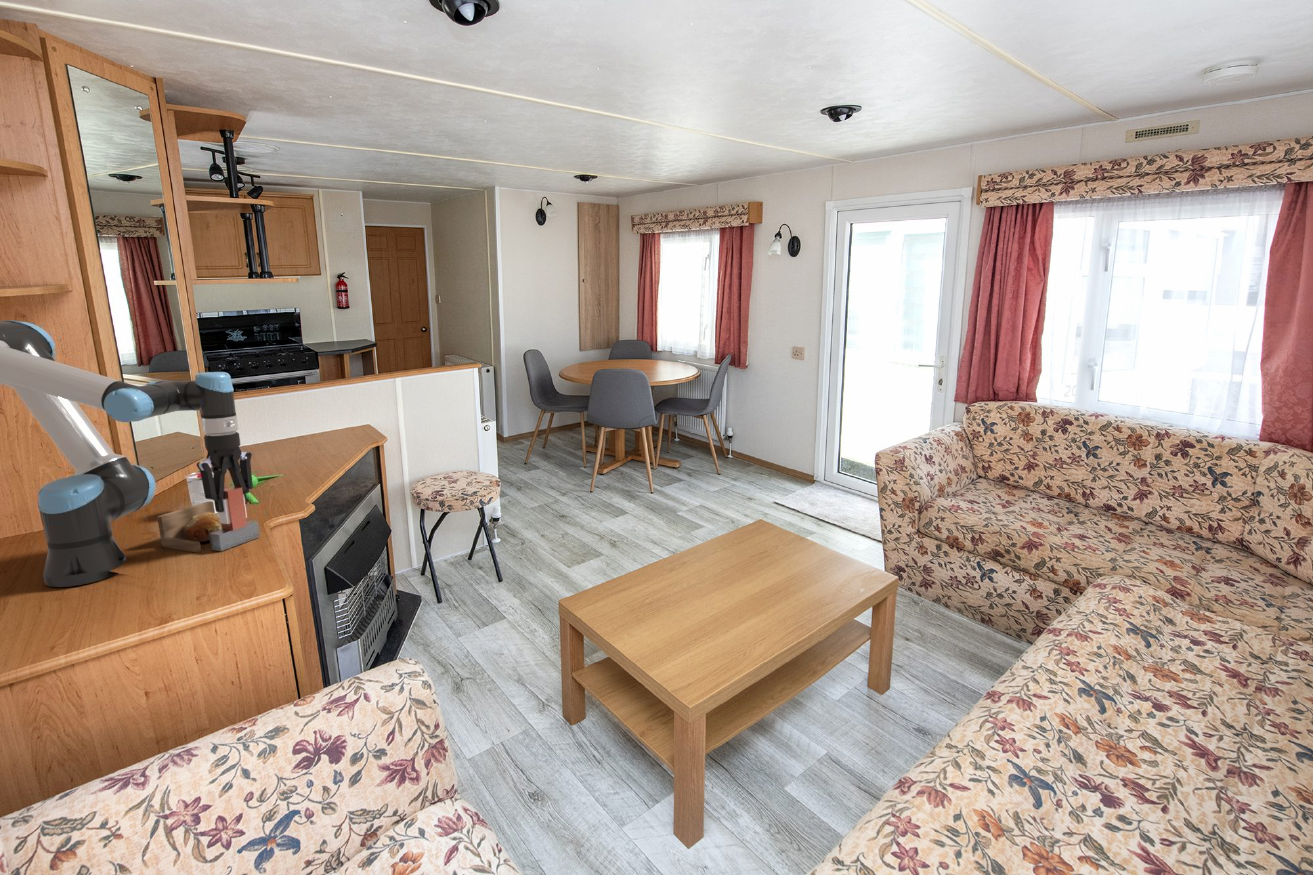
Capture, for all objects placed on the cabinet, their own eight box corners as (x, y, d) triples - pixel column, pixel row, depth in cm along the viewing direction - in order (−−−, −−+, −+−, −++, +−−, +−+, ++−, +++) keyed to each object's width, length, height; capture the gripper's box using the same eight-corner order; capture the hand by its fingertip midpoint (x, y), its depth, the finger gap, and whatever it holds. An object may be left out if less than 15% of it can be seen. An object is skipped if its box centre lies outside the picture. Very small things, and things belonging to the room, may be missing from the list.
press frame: (196, 552, 163) (191, 522, 161) (159, 546, 167) (154, 517, 166) (251, 532, 177) (247, 505, 176) (215, 527, 182) (211, 500, 180)
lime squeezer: (259, 506, 202) (256, 486, 201) (216, 509, 199) (213, 489, 198) (288, 479, 234) (286, 462, 233) (251, 481, 231) (249, 464, 230)
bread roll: (228, 540, 179) (222, 512, 180) (235, 534, 172) (228, 505, 172) (185, 549, 172) (179, 520, 173) (190, 543, 165) (183, 513, 166)
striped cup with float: (205, 518, 189) (199, 479, 187) (181, 516, 191) (175, 478, 189) (233, 508, 199) (227, 471, 197) (210, 506, 201) (204, 469, 198)
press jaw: (222, 551, 163) (214, 495, 160) (211, 549, 164) (202, 493, 161) (261, 537, 173) (254, 483, 170) (249, 535, 175) (242, 482, 172)
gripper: (199, 440, 154) (212, 532, 158) (262, 427, 170) (273, 511, 174) (176, 438, 156) (191, 529, 161) (241, 426, 172) (252, 509, 177)
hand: (233, 520), depth 168 cm, fingers closed on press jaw, 4 cm apart
